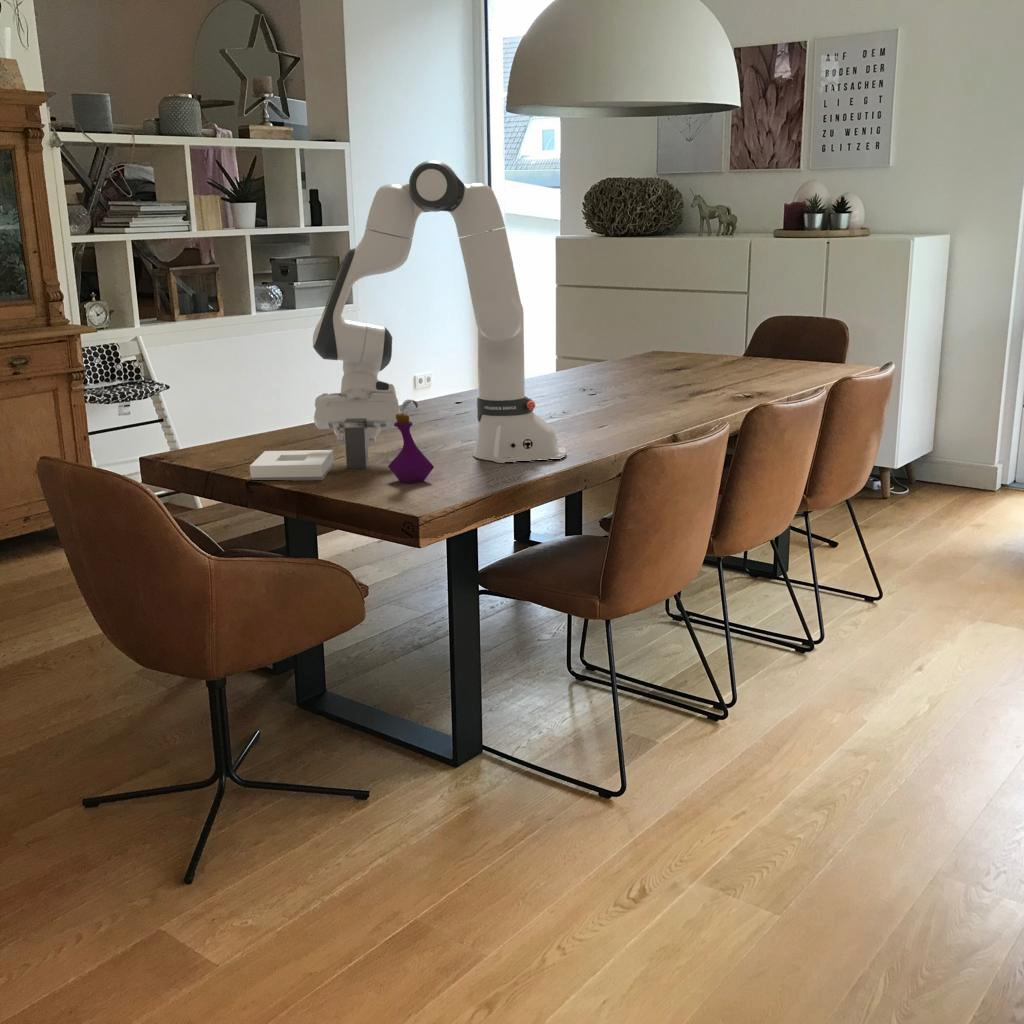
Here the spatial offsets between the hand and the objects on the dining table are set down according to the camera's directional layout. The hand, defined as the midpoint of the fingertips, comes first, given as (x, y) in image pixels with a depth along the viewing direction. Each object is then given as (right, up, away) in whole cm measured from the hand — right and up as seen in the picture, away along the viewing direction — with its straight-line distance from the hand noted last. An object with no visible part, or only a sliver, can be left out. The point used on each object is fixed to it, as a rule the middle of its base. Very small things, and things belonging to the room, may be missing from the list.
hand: (356, 441), depth 266 cm
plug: (0, -6, +2) cm, 6 cm away
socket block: (-14, -7, -4) cm, 16 cm away
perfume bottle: (+14, -10, -13) cm, 22 cm away
